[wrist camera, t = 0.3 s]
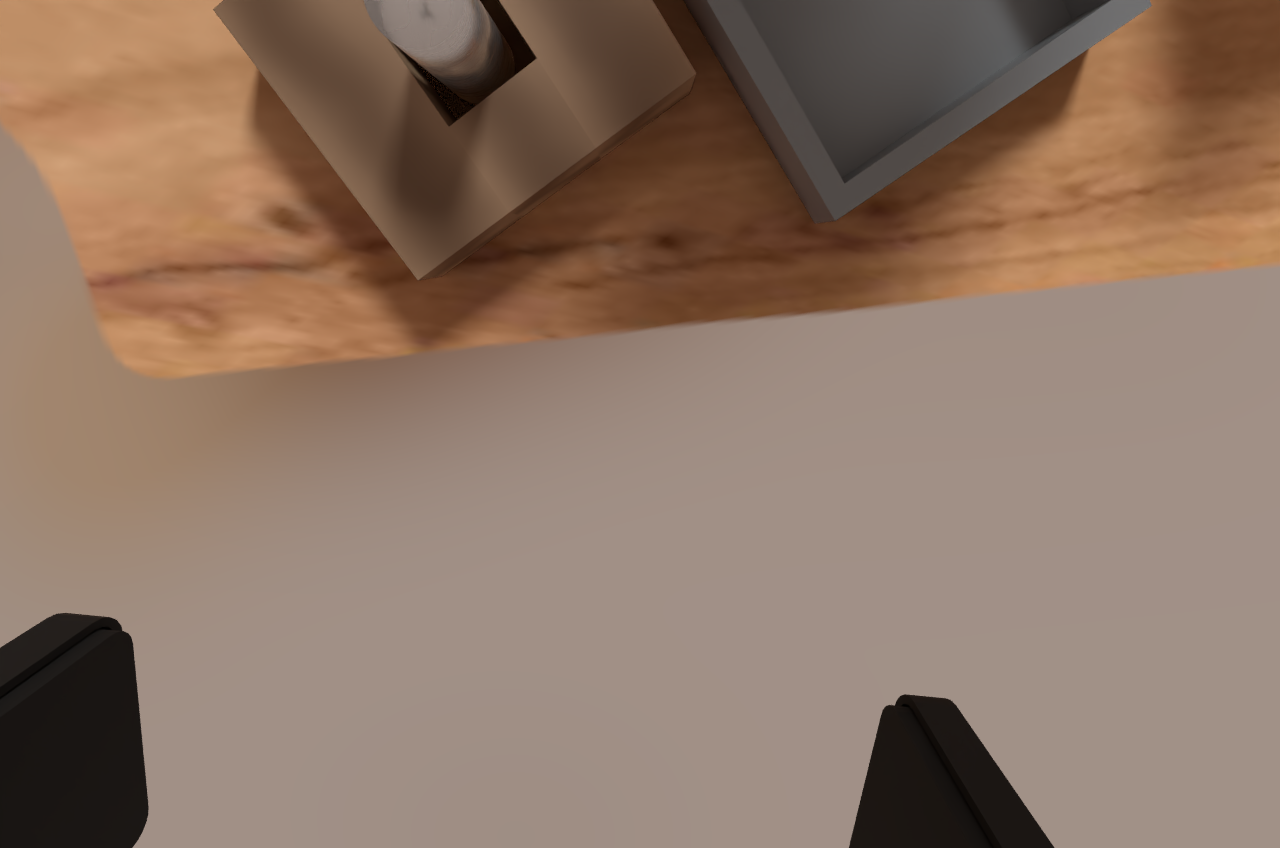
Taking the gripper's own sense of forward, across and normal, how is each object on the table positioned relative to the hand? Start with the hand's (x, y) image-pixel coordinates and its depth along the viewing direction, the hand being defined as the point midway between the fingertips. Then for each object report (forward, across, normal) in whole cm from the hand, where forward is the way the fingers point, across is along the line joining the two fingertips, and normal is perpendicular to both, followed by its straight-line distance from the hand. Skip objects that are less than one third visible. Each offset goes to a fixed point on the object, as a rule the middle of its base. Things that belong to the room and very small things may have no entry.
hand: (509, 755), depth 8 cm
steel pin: (+30, +8, -14) cm, 34 cm away
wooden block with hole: (+30, +8, -14) cm, 34 cm away
